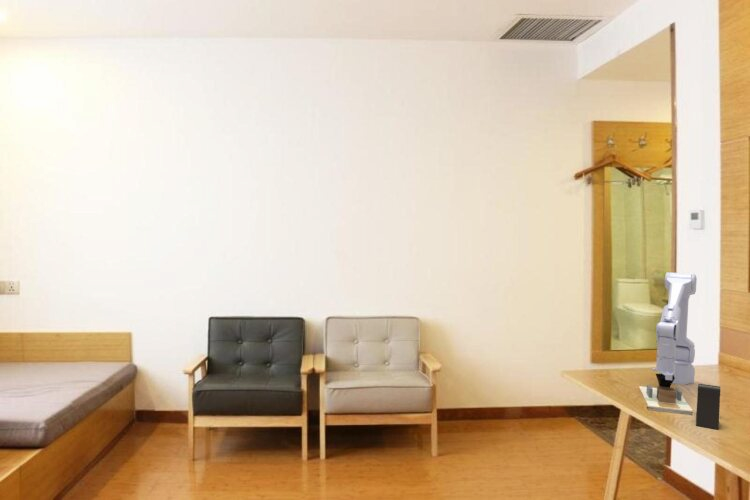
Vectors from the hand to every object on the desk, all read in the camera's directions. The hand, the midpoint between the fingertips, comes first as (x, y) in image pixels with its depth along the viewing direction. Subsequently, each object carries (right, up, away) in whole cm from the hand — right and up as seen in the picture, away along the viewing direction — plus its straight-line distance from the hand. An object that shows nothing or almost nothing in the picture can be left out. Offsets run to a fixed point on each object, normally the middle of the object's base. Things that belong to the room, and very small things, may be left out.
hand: (664, 395), depth 199 cm
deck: (0, -2, 0) cm, 2 cm away
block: (-1, -1, -3) cm, 4 cm away
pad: (-1, -2, -4) cm, 5 cm away
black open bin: (+3, -4, -21) cm, 21 cm away
